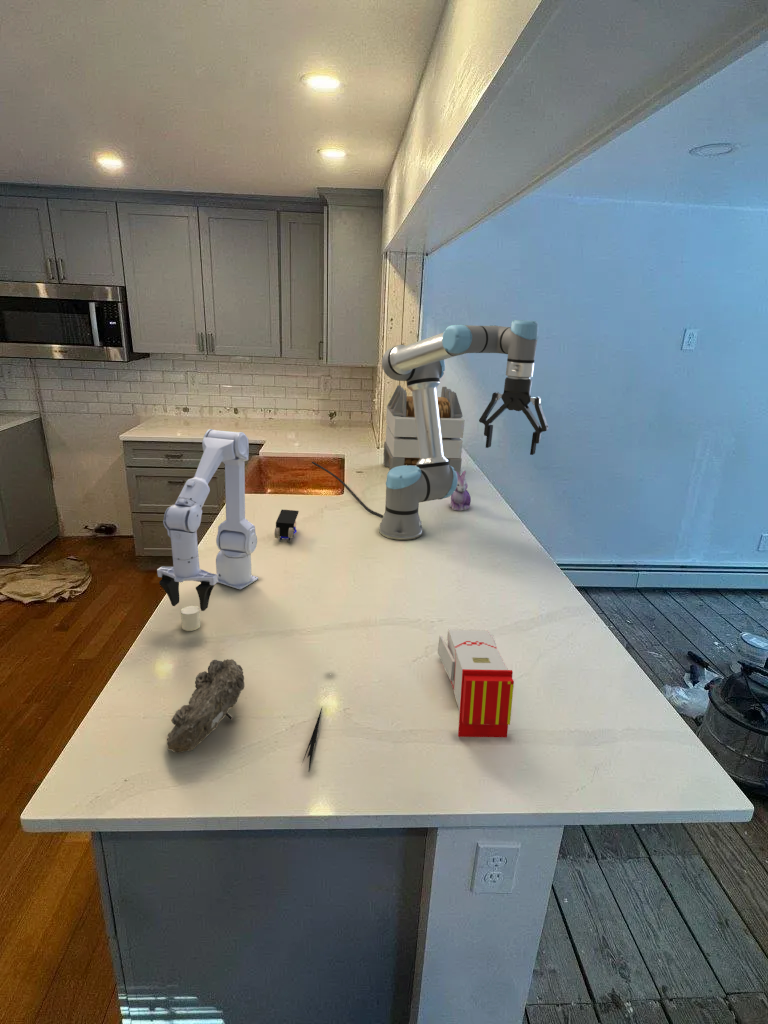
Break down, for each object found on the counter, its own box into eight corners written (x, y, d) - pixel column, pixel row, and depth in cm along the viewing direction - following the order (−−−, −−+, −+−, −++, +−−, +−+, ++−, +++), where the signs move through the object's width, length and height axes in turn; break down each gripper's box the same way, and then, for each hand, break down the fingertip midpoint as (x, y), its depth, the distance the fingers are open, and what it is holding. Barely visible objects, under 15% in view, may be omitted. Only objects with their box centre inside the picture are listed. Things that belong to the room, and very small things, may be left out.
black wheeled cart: (294, 548, 187) (299, 527, 200) (293, 528, 183) (299, 508, 197) (273, 548, 187) (280, 526, 200) (272, 527, 183) (279, 507, 197)
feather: (331, 679, 122) (336, 673, 122) (307, 777, 96) (313, 769, 95) (324, 675, 122) (329, 669, 121) (298, 772, 95) (304, 764, 95)
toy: (488, 613, 130) (523, 677, 101) (484, 667, 133) (517, 744, 104) (435, 612, 130) (455, 676, 101) (432, 666, 133) (451, 743, 103)
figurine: (457, 512, 223) (460, 476, 218) (443, 504, 231) (446, 469, 226) (477, 509, 227) (480, 473, 222) (462, 502, 236) (465, 467, 230)
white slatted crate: (382, 463, 289) (386, 382, 275) (445, 464, 293) (451, 384, 279) (390, 482, 257) (394, 392, 243) (460, 483, 261) (468, 394, 247)
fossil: (192, 660, 117) (244, 628, 112) (224, 691, 120) (276, 661, 115) (142, 746, 98) (202, 712, 93) (182, 779, 101) (242, 748, 96)
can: (181, 623, 139) (179, 607, 137) (199, 620, 140) (198, 604, 139) (183, 632, 135) (181, 615, 134) (201, 629, 137) (200, 612, 135)
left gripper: (147, 557, 129) (153, 610, 134) (205, 566, 126) (209, 619, 131) (165, 545, 136) (170, 596, 140) (220, 553, 133) (223, 604, 137)
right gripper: (472, 374, 164) (466, 446, 171) (559, 383, 152) (548, 459, 160) (481, 372, 170) (475, 442, 177) (566, 380, 159) (555, 454, 166)
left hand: (190, 606), depth 136 cm, fingers open, 7 cm apart
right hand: (509, 450), depth 168 cm, fingers open, 13 cm apart
